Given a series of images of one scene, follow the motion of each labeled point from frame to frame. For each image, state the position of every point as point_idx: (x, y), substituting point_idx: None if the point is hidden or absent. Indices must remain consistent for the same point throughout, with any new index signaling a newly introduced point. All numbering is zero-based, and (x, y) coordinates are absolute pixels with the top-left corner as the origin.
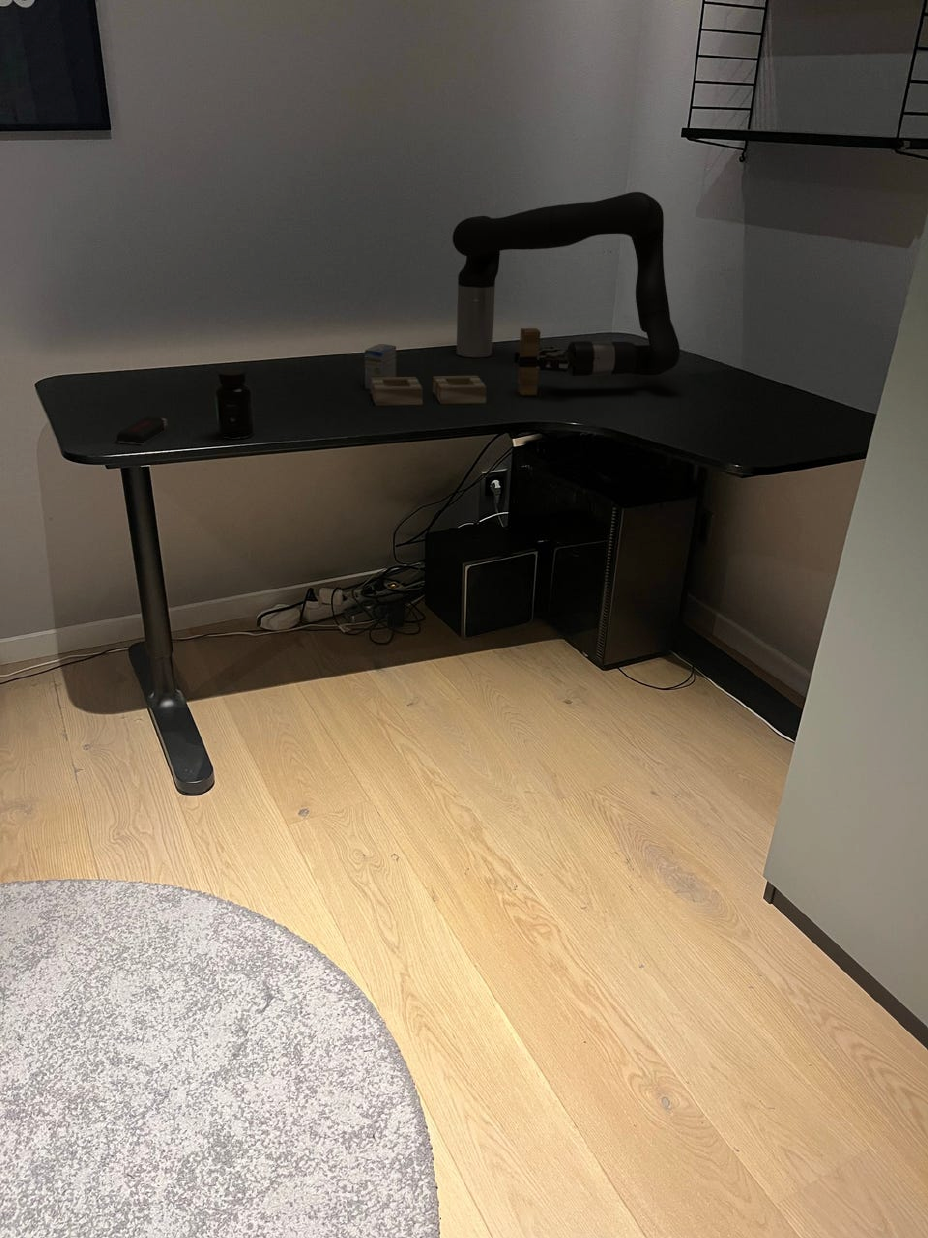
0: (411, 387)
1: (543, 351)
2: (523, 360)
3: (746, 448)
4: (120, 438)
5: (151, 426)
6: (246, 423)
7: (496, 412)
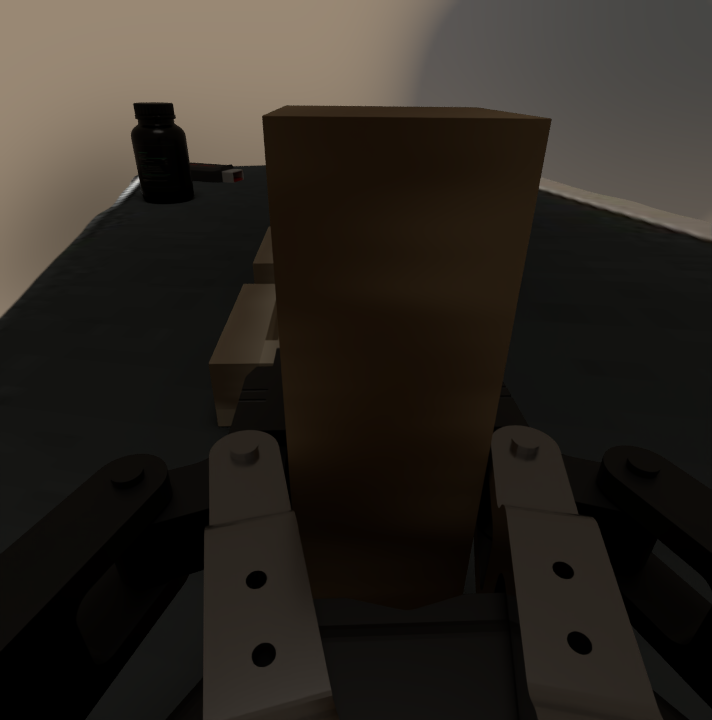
0: (271, 253)
1: (498, 532)
2: (249, 377)
3: None
4: None
5: (194, 167)
6: (140, 179)
7: (56, 438)
